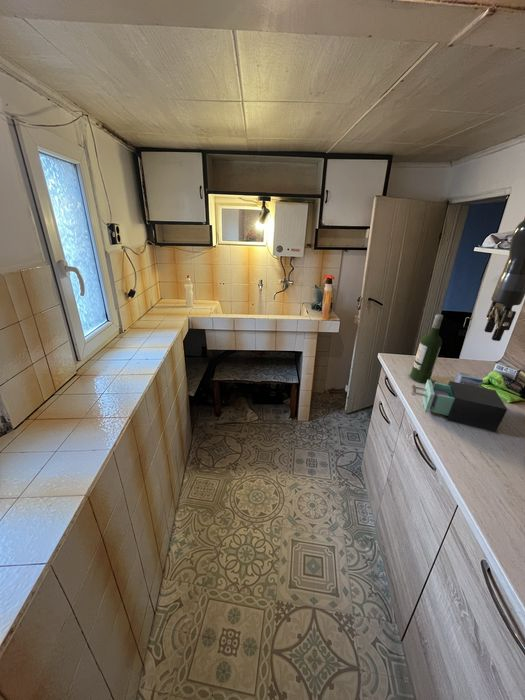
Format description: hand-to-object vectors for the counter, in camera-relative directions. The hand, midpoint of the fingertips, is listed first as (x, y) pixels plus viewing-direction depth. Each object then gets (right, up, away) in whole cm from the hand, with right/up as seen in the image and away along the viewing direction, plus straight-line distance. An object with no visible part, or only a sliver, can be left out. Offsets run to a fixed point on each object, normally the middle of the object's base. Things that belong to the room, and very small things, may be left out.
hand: (491, 336), depth 94 cm
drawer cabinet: (-2, -29, +9) cm, 30 cm away
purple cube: (-11, -25, +11) cm, 30 cm away
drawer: (-11, -26, +12) cm, 31 cm away
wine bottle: (-6, -18, +33) cm, 38 cm away
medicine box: (+7, -23, +23) cm, 33 cm away
